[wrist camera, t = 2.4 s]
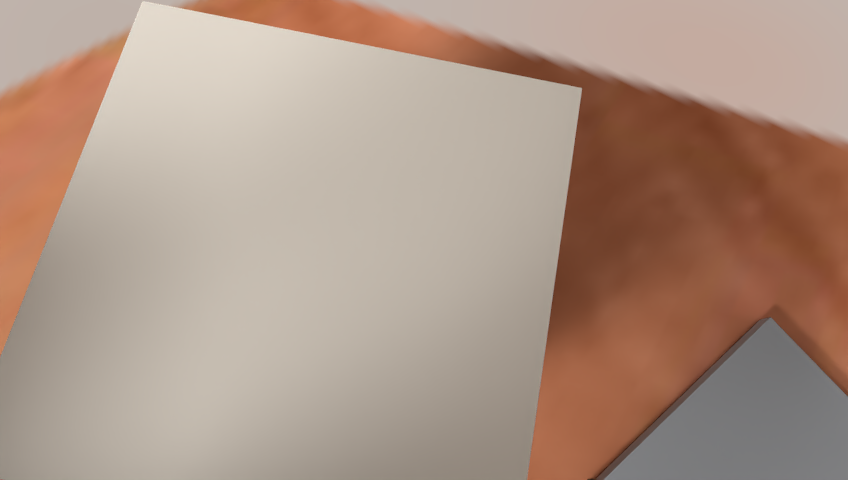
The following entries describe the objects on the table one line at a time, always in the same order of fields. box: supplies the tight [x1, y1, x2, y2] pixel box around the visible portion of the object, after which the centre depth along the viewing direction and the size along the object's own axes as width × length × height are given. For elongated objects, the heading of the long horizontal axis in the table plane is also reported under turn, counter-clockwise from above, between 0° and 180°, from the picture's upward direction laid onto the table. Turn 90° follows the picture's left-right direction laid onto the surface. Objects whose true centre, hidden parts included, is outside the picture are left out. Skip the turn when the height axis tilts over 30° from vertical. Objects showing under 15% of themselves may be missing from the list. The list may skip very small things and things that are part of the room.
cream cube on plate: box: [0, 1, 582, 480], centre depth 11 cm, size 7×7×7 cm
